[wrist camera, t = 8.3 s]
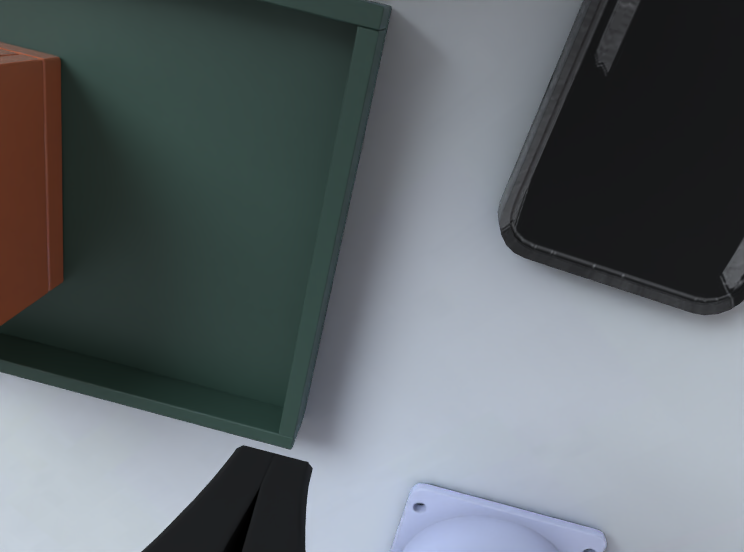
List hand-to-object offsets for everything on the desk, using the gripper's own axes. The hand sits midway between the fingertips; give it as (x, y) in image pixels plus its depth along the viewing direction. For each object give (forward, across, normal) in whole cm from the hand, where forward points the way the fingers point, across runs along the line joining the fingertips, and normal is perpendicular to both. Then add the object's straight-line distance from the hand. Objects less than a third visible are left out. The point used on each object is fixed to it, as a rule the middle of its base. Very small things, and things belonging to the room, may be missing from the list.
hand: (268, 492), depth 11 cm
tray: (+10, +11, 0) cm, 15 cm away
